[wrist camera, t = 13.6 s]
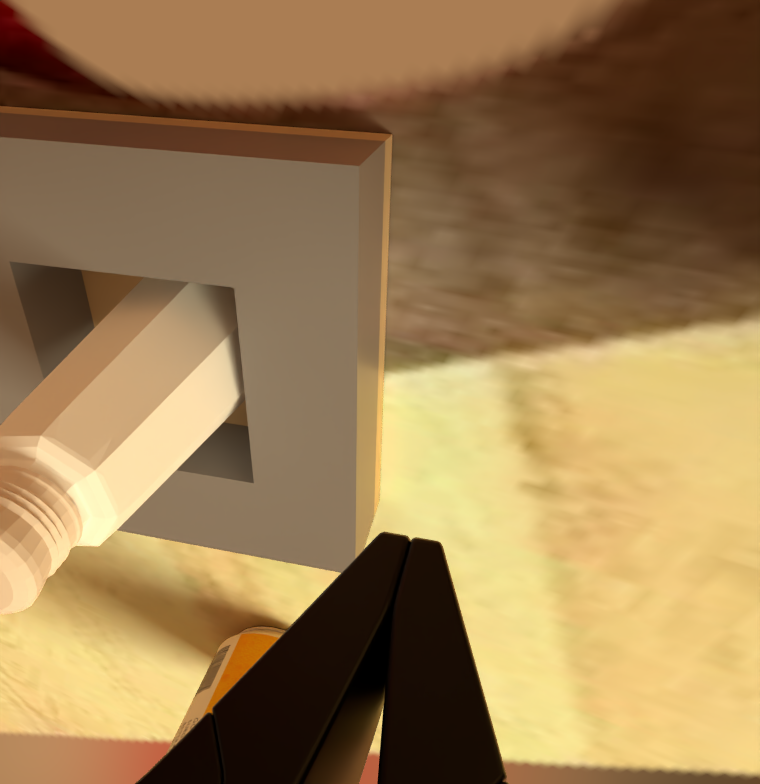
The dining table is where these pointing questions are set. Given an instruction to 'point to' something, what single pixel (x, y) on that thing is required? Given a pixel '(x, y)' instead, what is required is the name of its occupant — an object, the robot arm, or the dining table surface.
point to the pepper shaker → (113, 425)
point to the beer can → (227, 672)
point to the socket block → (252, 296)
